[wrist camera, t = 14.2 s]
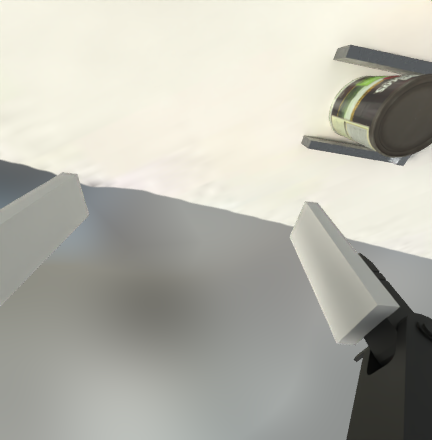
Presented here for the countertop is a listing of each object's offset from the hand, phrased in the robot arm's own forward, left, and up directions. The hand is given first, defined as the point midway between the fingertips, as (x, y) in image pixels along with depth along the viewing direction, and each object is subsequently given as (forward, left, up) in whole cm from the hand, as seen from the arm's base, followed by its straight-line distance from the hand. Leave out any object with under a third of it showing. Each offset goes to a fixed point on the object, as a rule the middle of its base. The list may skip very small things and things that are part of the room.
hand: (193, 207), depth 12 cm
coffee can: (-6, +27, -34) cm, 44 cm away
